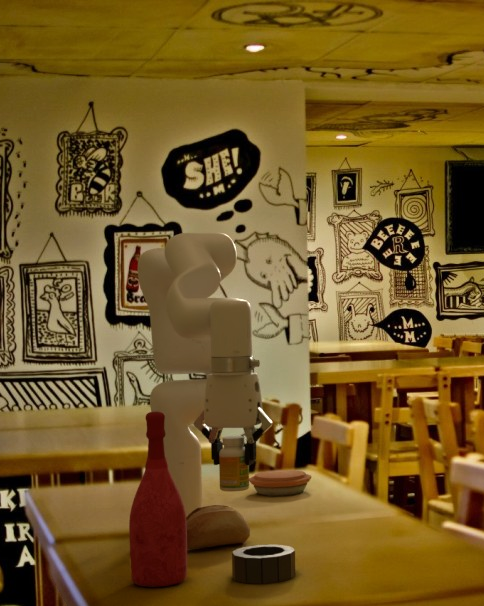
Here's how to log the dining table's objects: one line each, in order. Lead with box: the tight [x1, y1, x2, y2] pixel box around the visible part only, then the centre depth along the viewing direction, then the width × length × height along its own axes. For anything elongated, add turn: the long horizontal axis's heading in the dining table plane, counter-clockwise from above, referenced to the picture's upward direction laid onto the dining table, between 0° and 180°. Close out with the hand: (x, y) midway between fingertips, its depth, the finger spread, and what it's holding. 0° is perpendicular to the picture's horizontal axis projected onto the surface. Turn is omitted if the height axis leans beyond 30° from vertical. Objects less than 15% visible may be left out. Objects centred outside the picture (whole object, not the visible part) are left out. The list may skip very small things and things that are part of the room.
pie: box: [249, 469, 312, 497], centre depth 308 cm, size 16×16×5 cm
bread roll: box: [186, 504, 251, 550], centre depth 246 cm, size 10×15×8 cm, turn 130°
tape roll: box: [231, 544, 296, 585], centre depth 220 cm, size 11×11×4 cm
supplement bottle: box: [218, 435, 250, 493], centre depth 229 cm, size 5×5×10 cm
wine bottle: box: [128, 411, 188, 588], centre depth 217 cm, size 10×10×30 cm
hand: (234, 463), depth 229 cm, fingers closed on supplement bottle, 5 cm apart
